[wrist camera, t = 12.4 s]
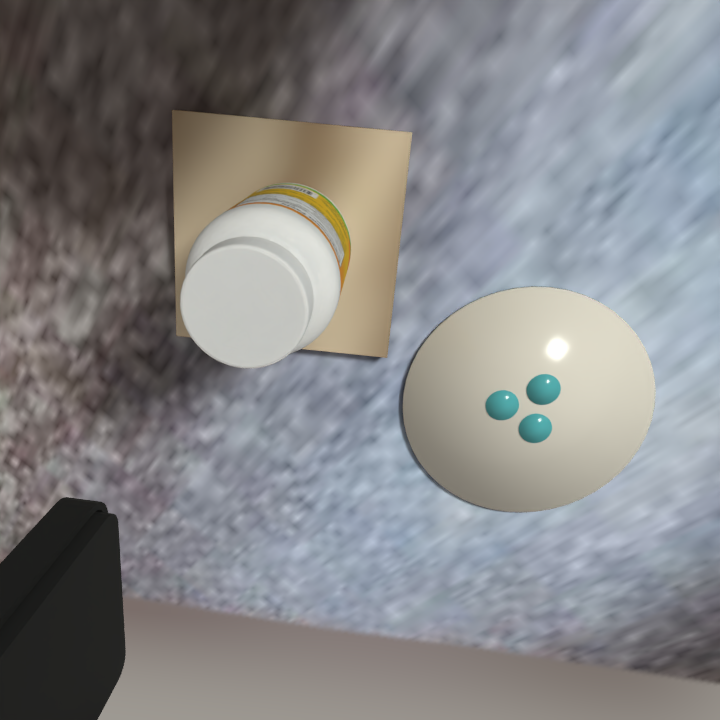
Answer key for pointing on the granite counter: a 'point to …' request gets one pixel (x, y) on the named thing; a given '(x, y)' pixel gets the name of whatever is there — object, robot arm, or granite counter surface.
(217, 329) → the supplement bottle
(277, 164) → the wooden mat
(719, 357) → the granite counter surface
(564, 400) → the coaster
